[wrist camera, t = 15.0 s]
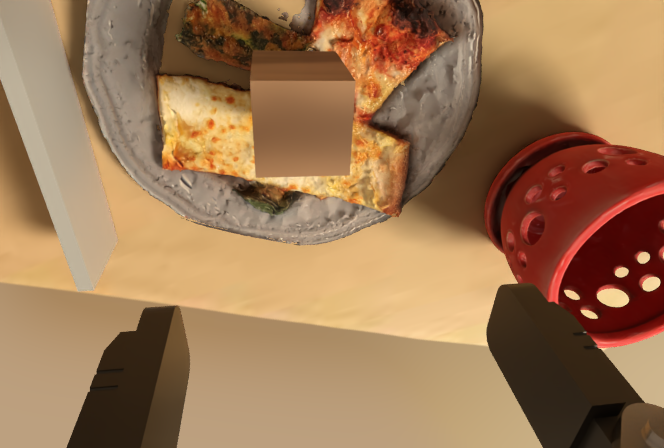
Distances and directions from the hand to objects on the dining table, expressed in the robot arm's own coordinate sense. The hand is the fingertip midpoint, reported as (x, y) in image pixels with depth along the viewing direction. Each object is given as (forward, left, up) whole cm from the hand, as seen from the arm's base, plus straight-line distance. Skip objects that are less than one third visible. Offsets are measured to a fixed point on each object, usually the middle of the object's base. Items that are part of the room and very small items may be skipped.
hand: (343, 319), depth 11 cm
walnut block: (0, 0, -20) cm, 20 cm away
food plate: (0, 0, -23) cm, 23 cm away
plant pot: (+9, +21, -23) cm, 32 cm away
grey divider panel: (+2, -15, -23) cm, 27 cm away
